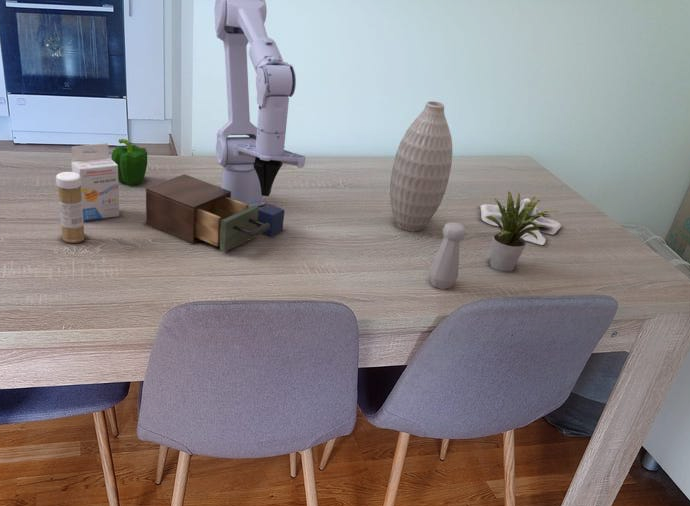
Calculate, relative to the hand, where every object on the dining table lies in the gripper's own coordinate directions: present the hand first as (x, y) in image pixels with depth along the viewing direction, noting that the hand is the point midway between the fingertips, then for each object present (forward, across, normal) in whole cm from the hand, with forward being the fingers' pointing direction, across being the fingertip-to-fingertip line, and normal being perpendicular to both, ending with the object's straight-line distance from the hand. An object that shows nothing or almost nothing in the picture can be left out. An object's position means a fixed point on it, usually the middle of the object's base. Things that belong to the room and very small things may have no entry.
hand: (265, 194), depth 148 cm
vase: (+10, +30, +21) cm, 38 cm away
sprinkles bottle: (+10, -35, -18) cm, 41 cm away
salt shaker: (+10, +39, -5) cm, 41 cm away
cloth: (+10, +57, +35) cm, 68 cm away
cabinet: (+10, -16, -1) cm, 19 cm away
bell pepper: (+10, -38, +16) cm, 42 cm away
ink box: (+10, -36, -5) cm, 38 cm away
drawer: (+9, -6, -5) cm, 12 cm away
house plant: (+10, +52, +8) cm, 53 cm away
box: (+10, +1, +4) cm, 11 cm away
